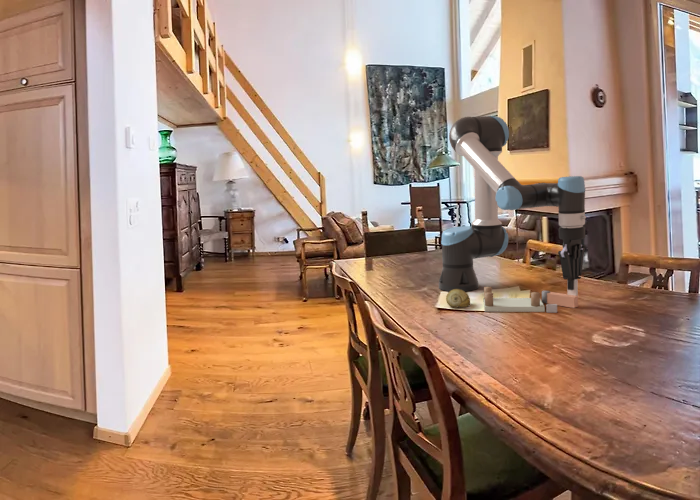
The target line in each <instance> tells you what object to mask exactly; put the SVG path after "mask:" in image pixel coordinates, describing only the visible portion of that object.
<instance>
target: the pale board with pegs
mask: <svg viewBox="0 0 700 500" xmlns="http://www.w3.org/2000/svg"><path fill="white" fill-rule="evenodd" d="M483 293H484V295H483V309H484V312H486V313H487V312H489V313H491V312H492V313H493V312H496V313H497V312H498V313H499V312H501V313H503V312H505V313H506V312H507V313H510V312H511V313H512V312H513V313H515V312H517V313H520V312H522V313H523V312H524V313H525V312H526V313H527V312H529V313H532V312H533V313H534V312H535V313H539V312H540V313H545V312H546V313H551V314H553V313H558V305H557V304H548V303H545V305H544V303H542V298H541V293H540V292H539V291H537V292H536V291H533V292H530V297H494V293H493V286H484V287H483ZM545 308H546V309H545Z"/></svg>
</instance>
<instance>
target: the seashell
mask: <svg viewBox="0 0 700 500" xmlns="http://www.w3.org/2000/svg"><path fill="white" fill-rule="evenodd" d="M445 300H446V304H447V305H448V306H449V307H450V308H458V307H460V308H467V307H470V306H471V298H470V295H469V294H468V293H467V291H463V290H460V289H453V290H451V291H448V292H447V294H446V296H445Z"/></svg>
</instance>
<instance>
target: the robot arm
mask: <svg viewBox="0 0 700 500" xmlns="http://www.w3.org/2000/svg"><path fill="white" fill-rule="evenodd" d="M509 136H510V131H509V126H508V125H507V122H506V121H505V120H504V119H503V118H501V116H500V117H499V116H493V115H486V116H464V117H461V118H459V119H457V120H456V121H455V122H454V123H453V125H452V126H451V127H450V130H449V139H448V140H449V144H450V146H451V147H452V149H453V151H455V152H456V154H457V155H459V156H462V157H464V159H466V161H467V162H468V163H469V165H471V166H472V168H473V169H474V212H475V213H474V215H475V216H474V220H473V221H472V222H471V225H469V226H468V225H462V226H454V227H451V228H447V229H446V230H443V232H442V233H441V241H440V242H441V243H440V244H441V255H442V256H441V257H442V260H441V261H442V269H441V273H440V275H439V280H438V289H439V290H441V291H446V292H450V291H451V290H453V289H460V290H463V291H464V292H469V291H471V292H472V291H474V290H477V289H479V280H478V277H477V275H476V272H475V269H474V259H475V260H476V259H483V258H492V257H495V256H500V255H501V254H503V253H504V252H505V251H506V249H507V248H508V244H509V234H508V232H507V229H506V228H505V227H504V226H503V223H502V221H501V220H500V219H499V209H501V210H503V211H516V210H524V209H531V208H532V209H533V208H541V207H542V208H543V207H556V208H557V207H558V226H559V228H558V238H559V239H560V240H562V242H563V243H562V250H558V253H557V254H558V257H559V261H560V267H561V272H562V278H563V280H566V282H567V283H566V286H567V287H566V290H567V294H568V295H575V296H578V295H579V293H578V288H579V285H578V284H579V283H578V280H581V279H582V274H583V273H582V272H583V264H584V257H585V249H586V245H585V244H584V245H583V244H582V240H584V239H585V238H586V227H585V226H584V225H586V219H587V216H586V215H585V214H586V212H585V211H586V186H585V185H586V184H585V183H586V182H585V179H584V177H583V176H582V175H571V176H570V175H569V176H561V177H559V178H558V179H557V182H555V183H553V182H547V183H546V182H538V183H534V184H533V183H532V184H521V183H520V182H519V181H518V180H517V179H516V178H515V176H513V175H512V174H511V172H510V171H509V170H508V169H507V168H506V167H505V166H504V165H503V164H502V163H501V162H500V161H499V155H501V154H502V153H503V147H505V146H506V144H508V142H507V141H508V140H509ZM578 297H579V296H578Z"/></svg>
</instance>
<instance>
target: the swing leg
mask: <svg viewBox="0 0 700 500" xmlns="http://www.w3.org/2000/svg"><path fill="white" fill-rule="evenodd" d="M541 301H542V303H543V304H557V306H561V307H566V308H571V309H575V308H578V307H579V296H575V295H568V293H561V292H554V291H550V290H542V291H541Z"/></svg>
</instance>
